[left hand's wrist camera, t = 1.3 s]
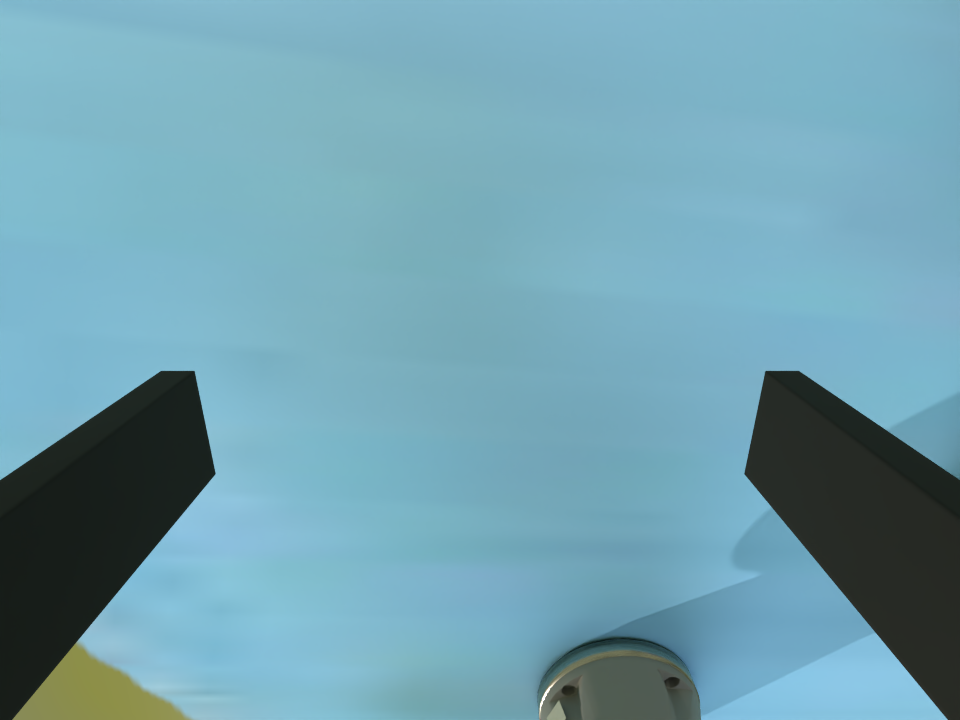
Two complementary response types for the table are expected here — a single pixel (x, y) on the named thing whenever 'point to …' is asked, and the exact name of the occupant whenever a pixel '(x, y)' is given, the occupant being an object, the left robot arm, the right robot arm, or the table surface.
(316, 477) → the table surface
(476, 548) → the table surface
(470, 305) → the table surface
